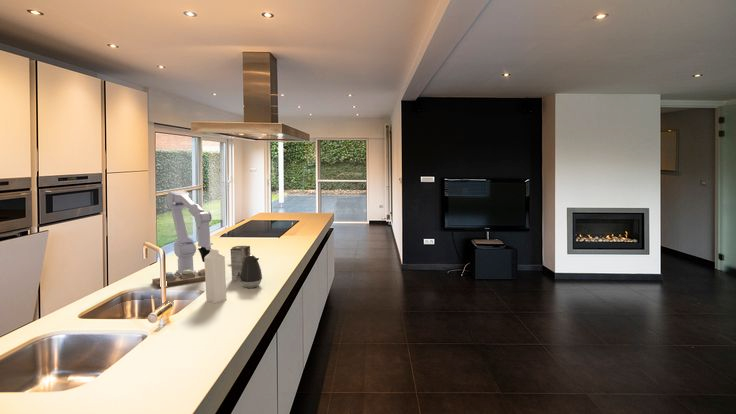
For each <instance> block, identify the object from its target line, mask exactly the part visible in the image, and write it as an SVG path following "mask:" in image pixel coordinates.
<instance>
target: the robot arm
mask: <svg viewBox="0 0 736 414" xmlns="http://www.w3.org/2000/svg"><path fill="white" fill-rule="evenodd" d="M165 199H166V202H167V206H168V208H169V210H170V211H171V216H172V220H173V223H174V228H175V232H176V236H177V239H176V241H175V242H174V244H173V247H174V248H173V252H174V254H175V256H176V257H177V270H176V271H175V272H176V273H178V274H179V275H180V273H183V270H191V271H192V272H193V273H196V272H197V271H196V270H195V268H194V256H195V254H196V253H197V250H198V252H199V254H200V257H201V261H202V262H203V263H205V262H204V257H205V256H206V255H208V254H209V253H210V249H212V248H211V247H212V245H213V242H211V236H210V235H211V232H210V230H211V229H210V228H211V227H210V223H211V221H212V218H213V217H212V214H211V213H210V211H208V210H207V211H206V210H204V209H203V208H202V206H200V205H199V204H198V203H194V201H192V199H191V198H190V193H189V192H188V191H187V190H181V191H178V190H177V191H168V192H167V194H166V198H165ZM184 207H187V208H188V212H189V214H190V215H192V217H194V222H195V226H196V227H197V242H198V244H197V246H196V244H195V242H194V240H193V239H192V238H190V237H189V236H188V231H187V226H186V223H185V220H184V219H185V218H184V214H183V211H182V210H183V208H184ZM197 247H198V248H197Z"/></svg>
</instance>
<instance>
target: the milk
mask: <svg viewBox="0 0 736 414" xmlns="http://www.w3.org/2000/svg"><path fill="white" fill-rule="evenodd" d="M203 263H204V269H205V281H204V282H205V296H206V297H205V298H206V300H205V301H206V302H208V303H212V304H216V303H220V302H224V301H227V282H226V280H227V278H226V258H225V255H223V254H220V253H219V250H218V249H215V248H214V249H212V248H211V249H210V253H209V254H208V255H206V256H205V257H204V262H203Z"/></svg>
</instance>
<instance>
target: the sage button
mask: <svg viewBox="0 0 736 414" xmlns="http://www.w3.org/2000/svg"><path fill="white" fill-rule="evenodd" d="M188 274H192V271H191V270H183V275H188Z"/></svg>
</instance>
